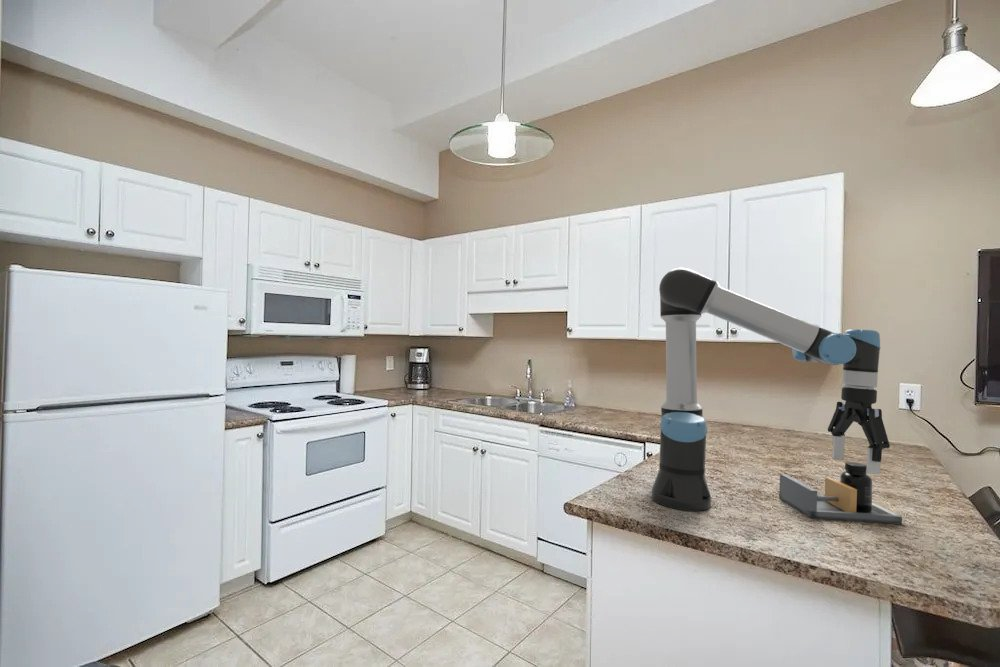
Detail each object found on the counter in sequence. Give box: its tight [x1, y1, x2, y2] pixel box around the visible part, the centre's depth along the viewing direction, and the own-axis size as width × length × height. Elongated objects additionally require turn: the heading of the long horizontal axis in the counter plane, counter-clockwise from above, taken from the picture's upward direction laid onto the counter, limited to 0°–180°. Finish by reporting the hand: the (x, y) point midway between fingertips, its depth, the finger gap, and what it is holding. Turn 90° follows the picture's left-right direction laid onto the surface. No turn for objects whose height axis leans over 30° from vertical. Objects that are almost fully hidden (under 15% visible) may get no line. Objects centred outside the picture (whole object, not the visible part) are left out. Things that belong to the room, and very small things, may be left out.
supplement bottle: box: [839, 461, 873, 513], centre depth 125 cm, size 7×7×12 cm
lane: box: [778, 473, 903, 525], centre depth 125 cm, size 22×15×7 cm
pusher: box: [817, 476, 857, 512], centre depth 126 cm, size 8×11×6 cm
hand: (854, 466), depth 125 cm, fingers open, 13 cm apart
